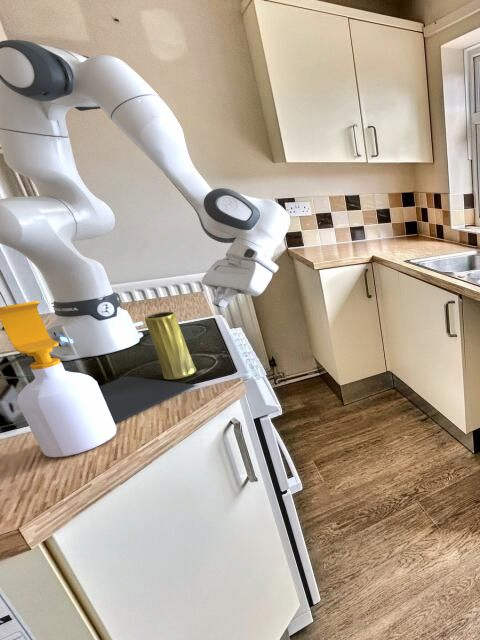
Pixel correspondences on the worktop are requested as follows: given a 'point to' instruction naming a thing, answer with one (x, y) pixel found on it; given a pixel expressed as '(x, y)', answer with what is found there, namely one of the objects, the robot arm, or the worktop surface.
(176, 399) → the worktop surface
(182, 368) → the vase
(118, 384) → the mat
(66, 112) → the robot arm
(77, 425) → the soap bottle
